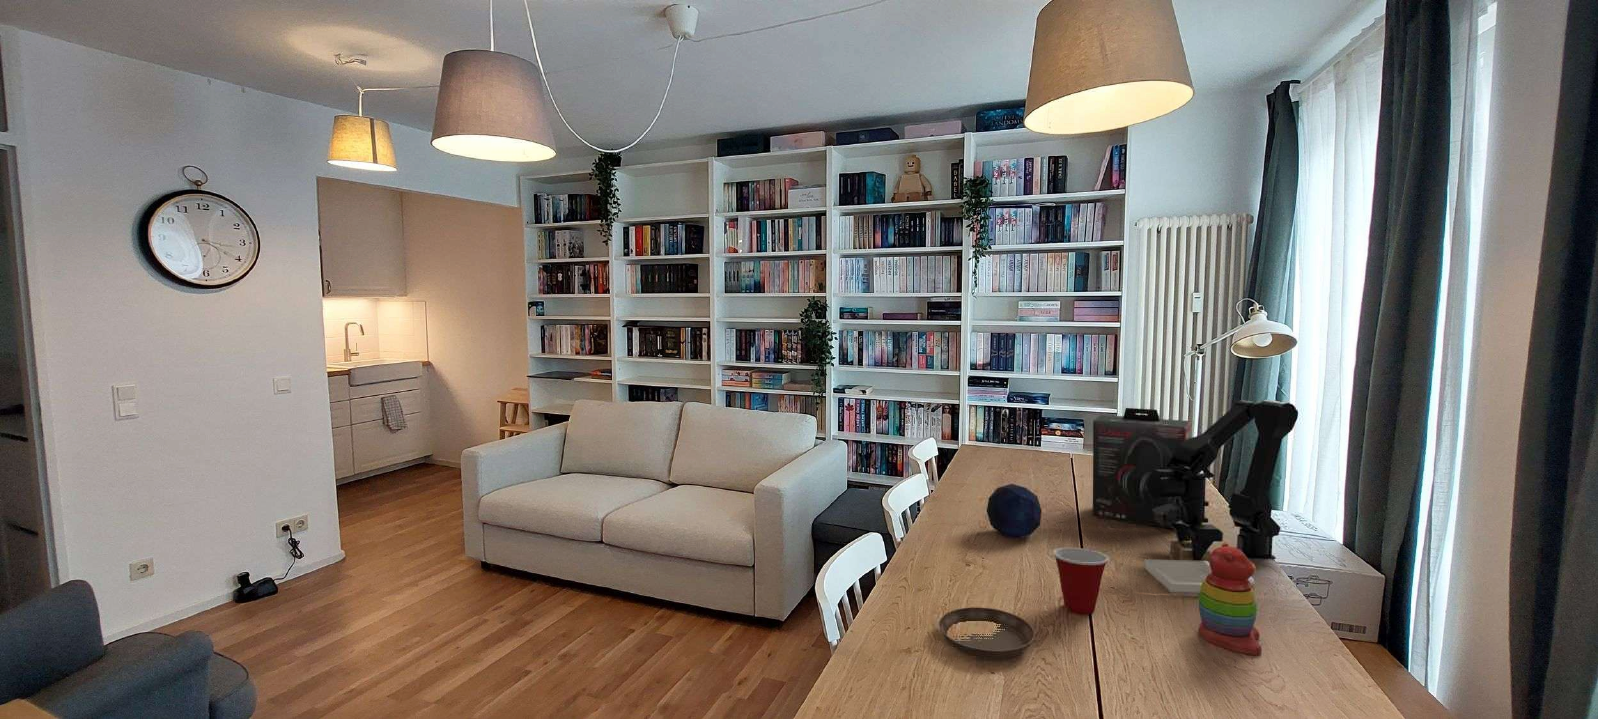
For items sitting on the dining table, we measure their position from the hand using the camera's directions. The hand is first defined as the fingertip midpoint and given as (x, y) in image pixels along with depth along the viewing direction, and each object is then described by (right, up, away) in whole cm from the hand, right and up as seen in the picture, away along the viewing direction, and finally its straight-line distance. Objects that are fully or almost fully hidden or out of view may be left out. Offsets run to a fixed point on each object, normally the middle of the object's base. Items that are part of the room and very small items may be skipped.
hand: (1189, 556), depth 164 cm
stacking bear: (-15, -5, -37) cm, 41 cm away
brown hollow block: (0, -1, 0) cm, 1 cm away
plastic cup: (-38, -4, -24) cm, 45 cm away
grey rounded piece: (0, -1, 0) cm, 1 cm away
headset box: (+4, +1, +33) cm, 33 cm away
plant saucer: (-61, -6, -37) cm, 71 cm away
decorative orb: (-37, 0, +20) cm, 42 cm away
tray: (-7, -2, -12) cm, 14 cm away
